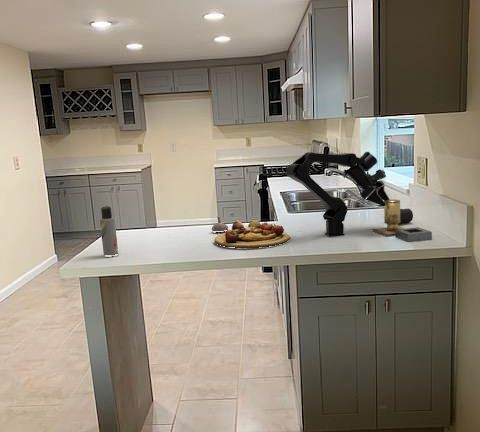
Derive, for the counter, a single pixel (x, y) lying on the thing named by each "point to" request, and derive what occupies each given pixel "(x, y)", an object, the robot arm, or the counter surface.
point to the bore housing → (413, 234)
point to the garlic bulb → (219, 226)
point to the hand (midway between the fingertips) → (387, 203)
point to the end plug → (392, 214)
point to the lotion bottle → (108, 232)
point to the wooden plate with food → (252, 235)
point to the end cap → (405, 216)
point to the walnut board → (385, 231)
